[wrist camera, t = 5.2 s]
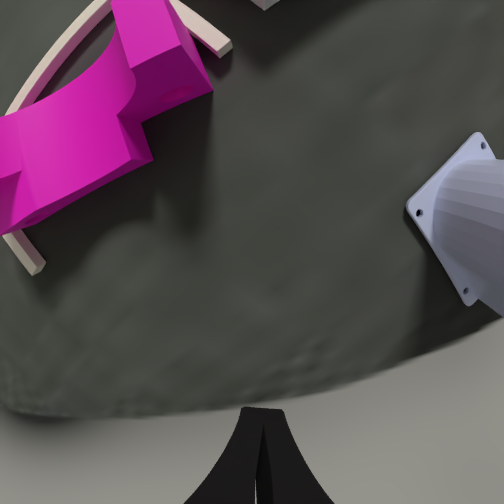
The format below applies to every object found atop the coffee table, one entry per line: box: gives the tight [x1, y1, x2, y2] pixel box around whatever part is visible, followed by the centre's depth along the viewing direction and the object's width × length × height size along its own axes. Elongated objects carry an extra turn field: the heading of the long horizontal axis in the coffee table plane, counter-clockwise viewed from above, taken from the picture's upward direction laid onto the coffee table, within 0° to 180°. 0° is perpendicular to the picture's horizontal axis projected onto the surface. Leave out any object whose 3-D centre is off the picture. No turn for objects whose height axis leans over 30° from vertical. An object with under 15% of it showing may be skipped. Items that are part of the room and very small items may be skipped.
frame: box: [2, 0, 233, 276], centre depth 16 cm, size 10×20×1 cm, turn 133°
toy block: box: [0, 0, 213, 236], centre depth 13 cm, size 15×6×8 cm, turn 110°
